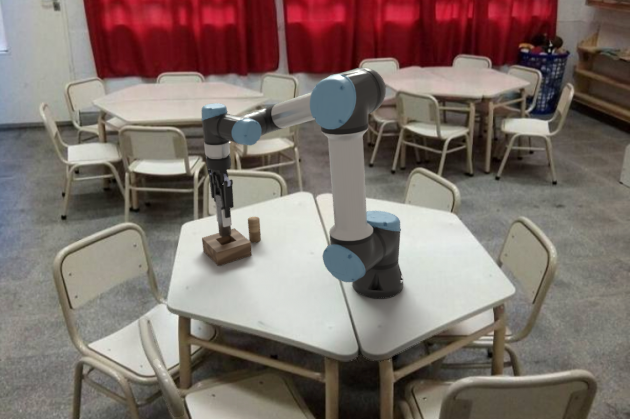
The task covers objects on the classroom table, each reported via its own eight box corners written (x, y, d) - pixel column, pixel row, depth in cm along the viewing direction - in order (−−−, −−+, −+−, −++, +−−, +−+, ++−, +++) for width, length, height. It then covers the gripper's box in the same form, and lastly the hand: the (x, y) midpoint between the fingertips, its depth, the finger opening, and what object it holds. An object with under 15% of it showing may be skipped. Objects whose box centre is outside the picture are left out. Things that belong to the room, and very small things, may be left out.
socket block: (251, 255, 182) (250, 242, 179) (218, 266, 176) (216, 252, 173) (235, 241, 191) (234, 228, 188) (203, 250, 185) (201, 237, 183)
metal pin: (233, 234, 180) (230, 195, 174) (222, 238, 178) (218, 198, 172) (228, 230, 183) (224, 191, 177) (217, 233, 181) (213, 194, 175)
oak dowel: (262, 240, 191) (261, 219, 187) (252, 243, 189) (251, 222, 185) (257, 235, 194) (256, 215, 190) (247, 239, 192) (245, 218, 188)
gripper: (241, 160, 164) (246, 229, 174) (217, 145, 177) (223, 210, 187) (218, 165, 160) (225, 236, 170) (195, 149, 173) (202, 216, 183)
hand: (224, 222), depth 178 cm, fingers closed on metal pin, 4 cm apart
